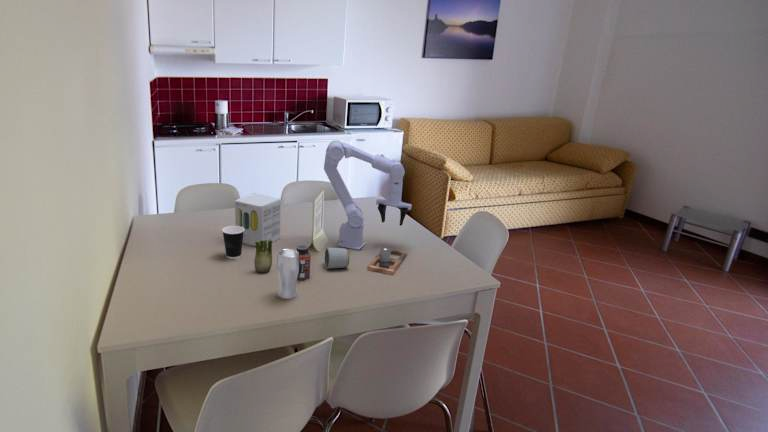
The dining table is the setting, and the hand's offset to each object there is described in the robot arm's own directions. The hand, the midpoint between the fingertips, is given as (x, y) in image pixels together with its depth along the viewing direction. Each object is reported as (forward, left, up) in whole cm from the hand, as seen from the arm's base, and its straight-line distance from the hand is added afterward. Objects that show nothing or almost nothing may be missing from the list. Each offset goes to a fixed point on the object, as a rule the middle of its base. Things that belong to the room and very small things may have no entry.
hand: (392, 223), depth 204 cm
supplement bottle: (-20, -42, -11) cm, 48 cm away
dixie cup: (-50, -38, -11) cm, 64 cm away
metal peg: (+4, -21, -10) cm, 24 cm away
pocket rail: (+4, -16, -10) cm, 20 cm away
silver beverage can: (-18, -56, -11) cm, 60 cm away
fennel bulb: (-34, -44, -11) cm, 57 cm away
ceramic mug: (-13, -28, -11) cm, 33 cm away
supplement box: (-51, -19, -11) cm, 56 cm away
